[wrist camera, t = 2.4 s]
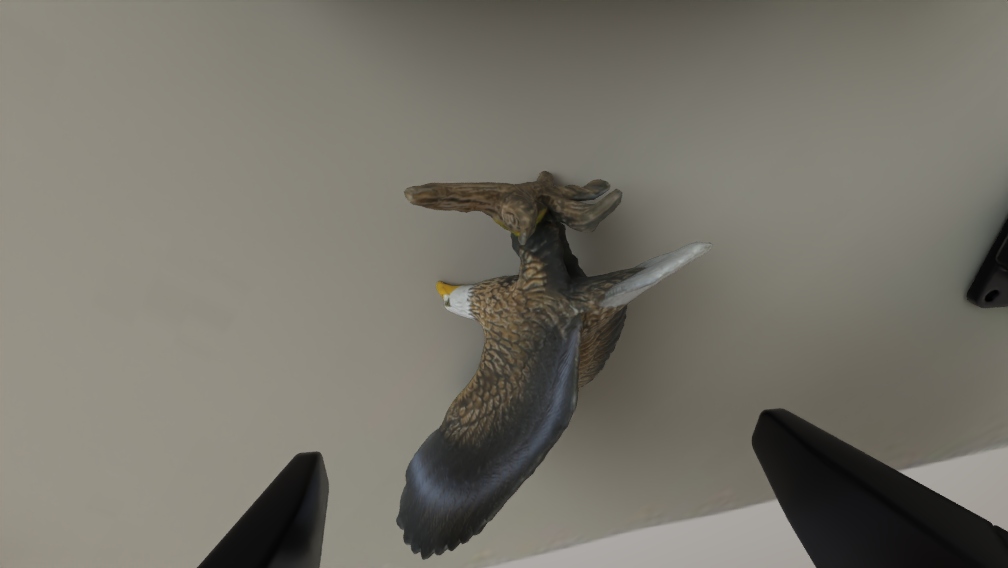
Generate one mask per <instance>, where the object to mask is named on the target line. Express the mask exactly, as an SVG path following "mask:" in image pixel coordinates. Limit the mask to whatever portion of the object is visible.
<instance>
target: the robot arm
mask: <svg viewBox="0 0 1008 568" xmlns="http://www.w3.org/2000/svg"><path fill="white" fill-rule="evenodd" d="M967 300H968V301H969V302H971V303H973V304H975V305H977V306H979V307H981V308H992V307H1006V306H1008V219H1007V221H1006V223H1005V224H1004V226H1003V228H1002V230H1001V232H1000V234H999V236H998V237H997V239H996V241H995V243H994V245H993V247H992V248H991V250H990V252H989V254H988V256H987V258H986V259H985V261H984V263H983V265H982V267H981V269H980V270H979V272H978V274H977V276H976V278H975V280H974V282H973V283H972V285H971V287H970V289H969V291H968V293H967ZM752 446H753V449H754V451H755V453H756V455H757V458H758V460H759V462H760V464H761V466H762V468H763V470H764V472H765V474H766V476H767V478H768V480H769V482H770V485H771V487H772V489H773V491H774V493H775V495H776V497H777V499H778V501H779V503H780V505H781V507H782V509H783V511H784V513H785V515H786V517H787V519H788V521H789V522H790V524H791V526H792V528H793V529H794V531H795V533H796V534H797V536H798V538H799V539H800V541H801V543H802V544H803V546H804V548H805V549H806V551H807V553H808V555H809V556H810V558H811V559H812V561H813V563H814V565H815V566H816V568H1008V532H1007V531H1006V530H1004V529H1002V528H1000V527H999V526H995V525H994V526H993V525H992V523H991V522H989V521H987V520H986V519H984V518H982V517H980V516H978V515H976V514H975V513H973V512H971V511H969V510H967V509H965V508H964V507H962V506H960V505H958V504H956V503H955V502H953V501H951V500H949V499H947V498H945V497H944V496H942V495H940V494H938V493H936V492H935V491H933V490H931V489H929V488H927V487H926V486H924V485H922V484H920V483H918V482H916V481H915V480H913V479H911V478H909V477H907V476H905V475H903V474H902V473H900V472H898V471H896V470H895V469H893V468H891V467H889V466H887V465H885V464H884V463H882V462H880V461H878V460H876V459H874V458H873V457H871V456H869V455H867V454H865V453H864V452H862V451H860V450H858V449H856V448H854V447H853V446H851V445H849V444H847V443H845V442H844V441H842V440H840V439H838V438H836V437H834V436H833V435H831V434H829V433H827V432H825V431H823V430H822V429H820V428H818V427H816V426H814V425H813V424H811V423H809V422H807V421H805V420H803V419H802V418H800V417H798V416H796V415H794V414H793V413H791V412H789V411H787V410H785V409H780V408H779V409H768V410H764V411H763V412H761V414H760V416H759V419H758V422H757V424H756V427H755V430H754V433H753V436H752ZM328 493H329V483H328V477H327V473H326V469H325V465H324V461H323V457H322V455H321V453H320V452H306V453H299V454H297V455H296V456H295V457H294V458H293V459H292V460H291V461H290V462H289V463H288V465H287V466H286V467H285V468H284V469H283V470H282V471H281V473H280V474H279V475H278V476H277V477H276V478H275V479H274V481H273V482H272V483H271V484H270V485H269V486H268V487H267V489H266V490H265V491H264V492H263V493H262V494H261V495H260V497H259V498H258V499H257V500H256V501H255V502H254V503H253V505H252V506H251V507H250V508H249V509H248V510H247V511H246V513H245V514H244V515H243V516H242V517H241V518H240V519H239V521H238V522H237V523H236V524H235V525H234V526H233V527H232V529H231V530H230V531H229V532H228V533H227V534H226V535H225V537H224V538H223V539H222V540H221V541H220V542H219V543H218V545H217V546H216V547H215V548H214V549H213V550H212V551H211V553H210V554H209V555H208V556H207V557H206V558H205V559H204V561H203V562H202V563H201V564H200V565H199V566H198V567H197V568H319V567H320V559H321V551H322V543H323V535H324V526H325V518H326V510H327V502H328Z"/></svg>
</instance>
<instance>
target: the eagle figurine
mask: <svg viewBox="0 0 1008 568" xmlns="http://www.w3.org/2000/svg"><path fill="white" fill-rule="evenodd" d="M609 188H610V185H609V184H608V183H607V182H606V181H603V180H601V179H600V180H593V181H591V182H590V183H588V184H587V185H586V186H584V187H580V186H575V185H568V186H565V187H563V186H554V184H553V177H552V175H551V174H550V173H549V172H546V171H543V172H541V173H540V174H539V177H538V179H537V181H535V182H527V183H522V184H515V185H514V184H507V183H489V182H487V183H429V184H425V185H421V186H413V187H410V188H407V189H406V190H405V191H404V194H405V197H406V198H407V199H408V201H409V202H410V203H412V204H413V205H418V206H423V207H425V208H430V209H434V210H448V211H450V210H456V211H460V212H466V213H467V212H470V211H482V212H484V213H485V214H487V215H489V216H491V217H492V218H493V220H494V221H495V222H496V223H498V224H499V225H500V226H502V227H503V228H504V229H506V230H509V231H510V232H511V238H512V247H513V249H514V250H515V252H516V253H517V254H518V256H519V257H520V259H521V265H520V272H519V275H514V276H503V277H499V278H493V279H489V280H485V281H482V282H480V283H477V284H473V285H457V286H450V285H447V284H444V283H442V282H441V281H438V282H437V285H436V288H437V290H438V292H439V294H440V295H441V296H442V298H443V299H444V300H445V303H444V306H445V308H446V309H447V310H449V311H451V312H452V313H455V314H457V315H460V316H463V317H467V318H470V319H472V320H475V321H477V322H479V323H480V324H481V325H482V327H483V330H484V334H485V344H484V349H483V353H482V358H481V362H480V364H479V367H478V370H477V372H476V374H475V375H474V377H473V379H472V380H471V381H470V383H469V384H468V385H467V386H466V388H465V389H464V390H463V391H462V392H461V393H460V394H459V395H458V396H457V397H456V399H455V400H454V401H453V403H452V404H451V406H450V407H449V409H448V411H447V413H446V416H445V418H444V420H443V423H442V425H441V426H440V428H439V429H437V430H436V431H434V432H433V433H432V434H431V435H430V436H429V437H428V438H427V439H426V441H425V442H424V443H423V444H422V445H421V447H420V448H419V449H418V451H417V452H416V453H415V455H414V457H413V459H412V460H411V462H410V463H409V466H408V468H407V471H406V486H405V487H404V490H403V493H402V495H401V500H400V511H399V515H398V517H397V519H396V522H397V525H398V526H399V527H400V529H402V530H404V537H403V538H404V542H405V544H406V545H411V550H412V552H413V553H414V554H417V553H418V552H421V556H422V559H423V560H424V559H427V558H429V557H430V556H431V555H432V554H433V553H434V552H435V554H436V555H441V554H443V553H444V551H446V550H447V549H448V550H450V551H453V550H454V549H455V548H456V547H457V546H458V545H459V544H460V543H462V544H464V543H466V542H468V541H469V539H470V538H471V537H472V536H473V535H477V534H479V533H480V532H481V531H482V530H483V528H484V527H485V526H486V524H487V523H488V522H489V521H491V520H492V519H493V518H494V516H495V515H496V514H497V513H498V511H499V510H500V509H501V508H502V507H503V505H504V504H505V503H506V502H507V500H508V499H509V498H510V497H511V496H512V495H513V494H514V493H515V492H516V491H517V490H518V488H519V487H520V486H521V485H522V483H523V482H524V481H525V480H526V479H527V478H529V477H530V476H531V475H532V474H533V473H534V471H535V469H536V468H537V467H538V466H539V465H540V463H541V462H542V461H543V459H544V458H545V456H546V455H547V453H548V452H549V450H550V449H551V448H552V447H553V445H554V444H555V443H556V441H557V440H558V439H559V438H560V436H561V435H562V433H563V432H564V430H565V429H566V428H567V427H568V424H569V422H570V420H571V417H572V414H573V412H574V411H575V409H576V405H577V398H578V389H579V388H580V387H583V386H584V385H585V384H587V383H588V382H590V381H592V380H593V378H594V377H595V376H596V375H597V374H598V373H599V371H600V370H602V369H603V367H604V364H605V361H606V360H607V359H608V358H609V356H610V354H611V353H612V352H613V351H614V348H615V343H616V342H617V340H618V339H619V337H620V334H621V331H622V328H623V326H624V321H625V319H626V314H625V312H626V309H627V304H628V303H629V302H631V301H632V300H633V299H634V298H636V297H637V296H638V295H640V294H641V293H643V292H644V291H646V290H647V289H649V288H650V287H652V286H653V285H655V284H656V283H658V282H659V281H661V280H663V279H664V278H666V277H667V276H669V275H671V274H672V273H674V272H676V271H677V270H679V269H680V268H682V267H684V266H685V265H687V264H688V263H690V262H691V261H693V260H695V259H696V258H698V257H700V256H702V255H703V254H705V253H706V252H708V251H709V250H710V249H711V248H712V244H711V243H702V242H695V243H692V244H689V245H686V246H684V247H682V248H680V249H678V250H676V251H674V252H671V253H667V254H664V255H661V256H658V257H655V258H652V259H650V260H648V261H646V262H644V263H642V264H640V265H638V266H636V267H635V268H632V269H627V270H620V271H616V272H612V273H609V274H604V275H599V276H594V277H587V276H586V275H585V273H584V272H583V270H582V269H581V268H580V267H579V265H578V259H577V258H576V256H574V255H573V254H572V252H571V249H570V247H569V244H568V242H567V240H566V235H565V230H566V229H565V226H564V225H563V224H562V223H565V224H567V225H568V226H569V227H571V228H573V229H575V230H578V231H581V232H592V231H594V230H595V228H596V227H597V225H598V224H599V222H600V221H602V220H603V219H605V218H606V217H607V216H608V215H609V214H610V213H611V212H613V211H614V210H615V208H616V207H617V206H618V205H619V203H620V202H621V198H622V192H621V191H620V190H618V189H616V190H614V191H613V192H611V193H610V194H608V195H607V196H606V197H604V198H603V199H602V200H601V201H599V202H598V203H596V204H584V203H582V202H579V201H586V200H594V199H596V198H598V197H599V196H601V195H602V194H604V193H605V192H606V191H608V190H609ZM561 222H562V223H561Z"/></svg>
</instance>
